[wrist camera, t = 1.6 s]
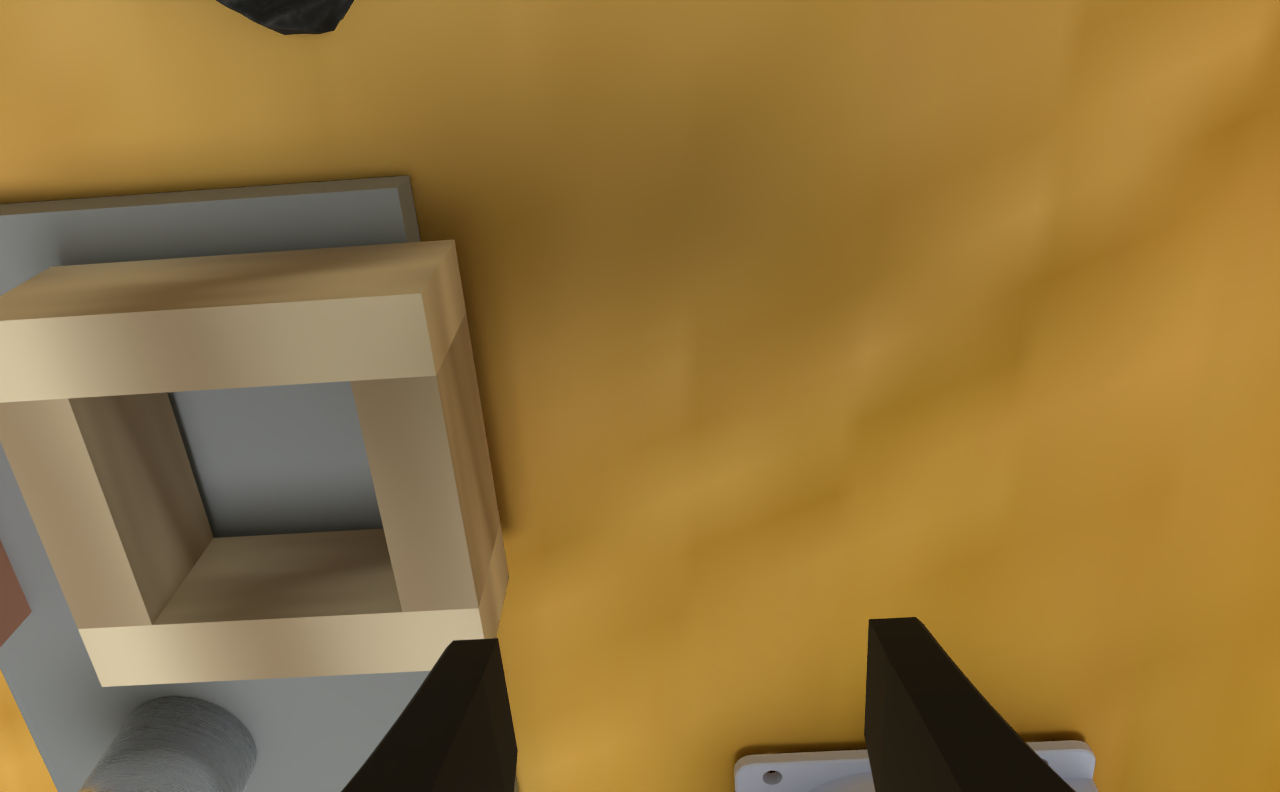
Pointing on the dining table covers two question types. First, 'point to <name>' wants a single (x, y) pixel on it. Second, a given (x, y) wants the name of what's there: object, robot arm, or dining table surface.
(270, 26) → the stone slab
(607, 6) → the dining table surface
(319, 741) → the board
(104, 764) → the peg
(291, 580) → the wooden square ring
